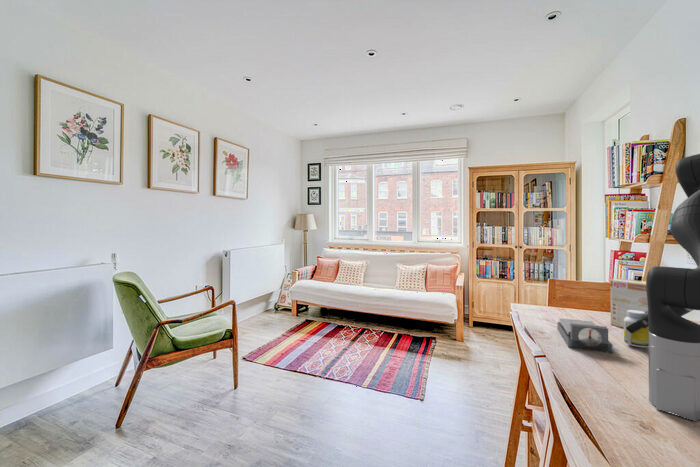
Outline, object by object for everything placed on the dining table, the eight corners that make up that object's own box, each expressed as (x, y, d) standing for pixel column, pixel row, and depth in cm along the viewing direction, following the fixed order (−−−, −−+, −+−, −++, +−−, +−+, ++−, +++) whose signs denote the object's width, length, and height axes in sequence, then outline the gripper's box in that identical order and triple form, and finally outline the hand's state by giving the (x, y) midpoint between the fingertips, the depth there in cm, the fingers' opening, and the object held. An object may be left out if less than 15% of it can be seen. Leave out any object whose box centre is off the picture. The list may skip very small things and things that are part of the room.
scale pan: (606, 339, 102) (606, 335, 102) (568, 334, 107) (568, 331, 107) (592, 324, 117) (592, 321, 117) (559, 321, 122) (559, 318, 122)
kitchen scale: (612, 353, 99) (612, 330, 98) (568, 348, 104) (568, 325, 104) (593, 333, 117) (593, 313, 117) (557, 329, 122) (557, 310, 122)
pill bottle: (655, 348, 100) (654, 314, 100) (632, 347, 101) (632, 314, 101) (640, 341, 106) (640, 309, 106) (619, 340, 107) (619, 308, 107)
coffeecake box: (666, 333, 115) (666, 283, 114) (656, 336, 112) (656, 285, 112) (619, 322, 129) (619, 277, 128) (609, 324, 126) (609, 279, 125)
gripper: (668, 288, 102) (623, 315, 111) (665, 295, 93) (616, 323, 102) (692, 306, 98) (643, 332, 107) (691, 315, 89) (637, 343, 98)
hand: (630, 328), depth 105 cm, fingers closed on pill bottle, 6 cm apart
